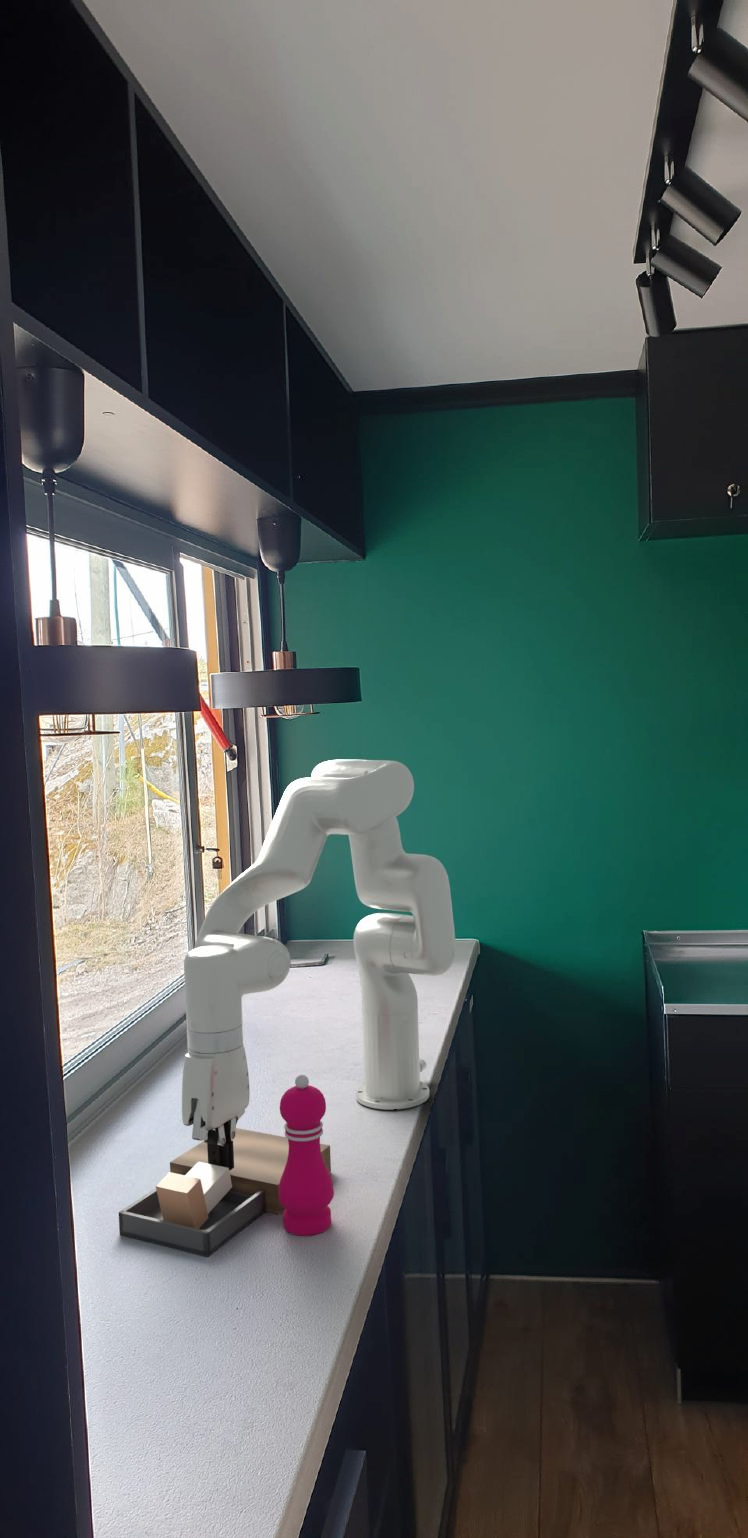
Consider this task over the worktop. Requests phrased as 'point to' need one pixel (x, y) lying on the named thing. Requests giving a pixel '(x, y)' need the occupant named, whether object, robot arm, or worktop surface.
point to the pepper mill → (305, 1162)
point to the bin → (214, 1233)
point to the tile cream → (212, 1182)
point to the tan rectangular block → (182, 1200)
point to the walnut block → (251, 1164)
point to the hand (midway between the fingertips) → (221, 1168)
